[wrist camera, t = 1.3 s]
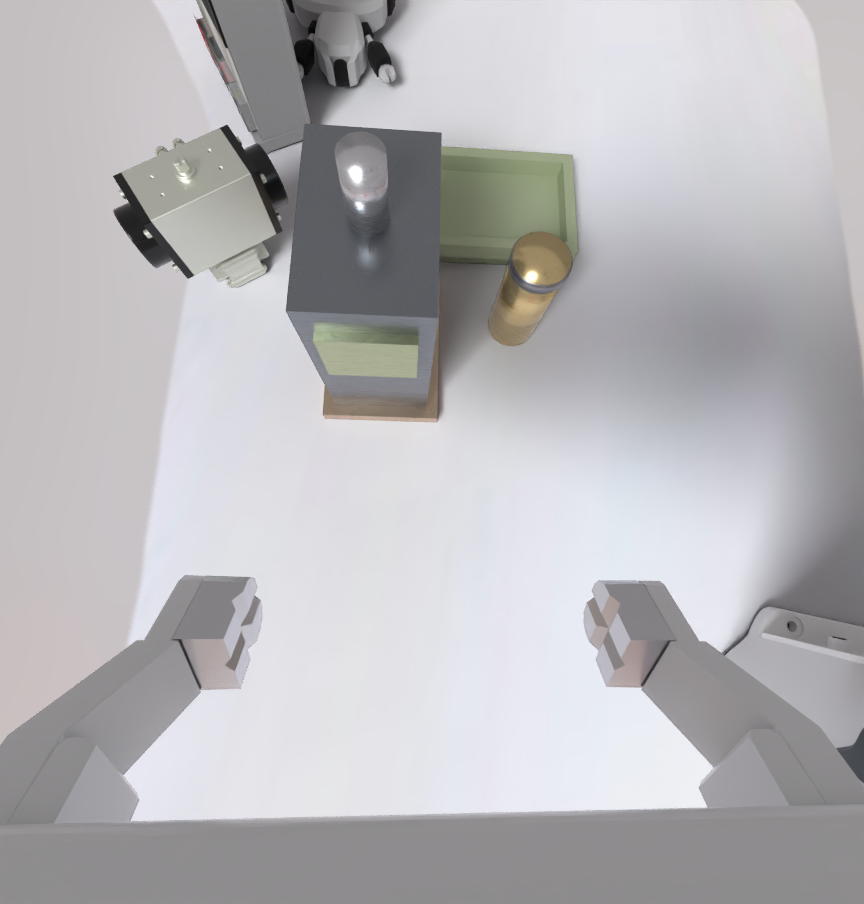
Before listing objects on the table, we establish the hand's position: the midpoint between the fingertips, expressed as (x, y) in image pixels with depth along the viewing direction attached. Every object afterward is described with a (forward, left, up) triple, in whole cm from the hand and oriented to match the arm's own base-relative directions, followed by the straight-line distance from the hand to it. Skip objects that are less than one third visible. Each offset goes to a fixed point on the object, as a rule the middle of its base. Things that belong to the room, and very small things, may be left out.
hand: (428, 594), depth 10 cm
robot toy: (+9, -55, -27) cm, 62 cm away
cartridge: (-9, -22, -27) cm, 36 cm away
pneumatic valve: (+17, -27, -27) cm, 42 cm away
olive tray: (-7, -34, -27) cm, 44 cm away
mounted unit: (+3, -19, -27) cm, 33 cm away
